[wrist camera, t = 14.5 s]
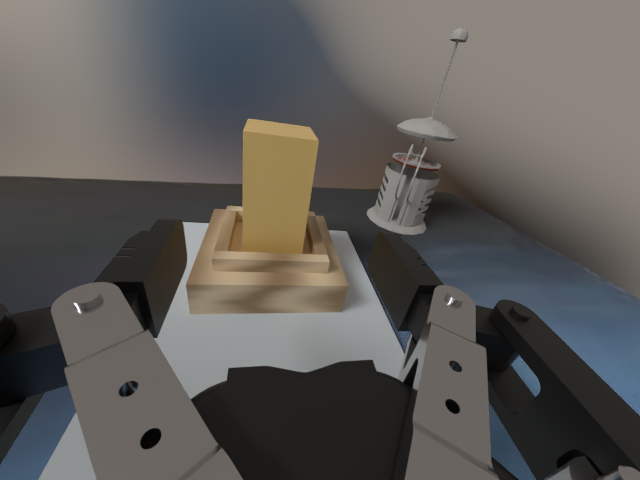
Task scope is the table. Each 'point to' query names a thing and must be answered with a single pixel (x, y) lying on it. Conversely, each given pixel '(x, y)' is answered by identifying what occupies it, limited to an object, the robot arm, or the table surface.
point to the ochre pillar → (276, 185)
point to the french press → (412, 173)
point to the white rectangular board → (255, 343)
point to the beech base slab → (264, 272)
